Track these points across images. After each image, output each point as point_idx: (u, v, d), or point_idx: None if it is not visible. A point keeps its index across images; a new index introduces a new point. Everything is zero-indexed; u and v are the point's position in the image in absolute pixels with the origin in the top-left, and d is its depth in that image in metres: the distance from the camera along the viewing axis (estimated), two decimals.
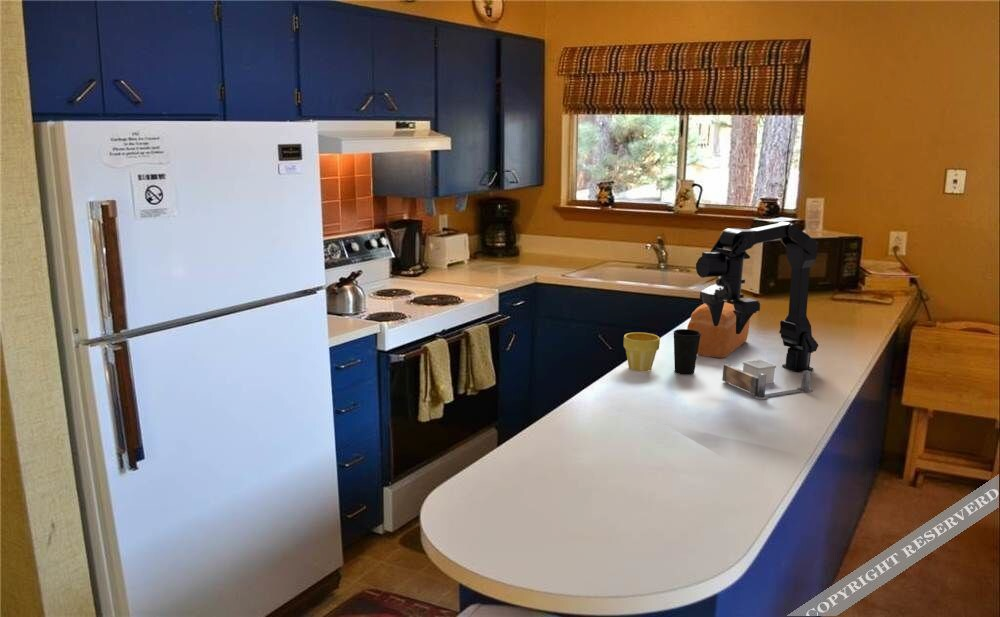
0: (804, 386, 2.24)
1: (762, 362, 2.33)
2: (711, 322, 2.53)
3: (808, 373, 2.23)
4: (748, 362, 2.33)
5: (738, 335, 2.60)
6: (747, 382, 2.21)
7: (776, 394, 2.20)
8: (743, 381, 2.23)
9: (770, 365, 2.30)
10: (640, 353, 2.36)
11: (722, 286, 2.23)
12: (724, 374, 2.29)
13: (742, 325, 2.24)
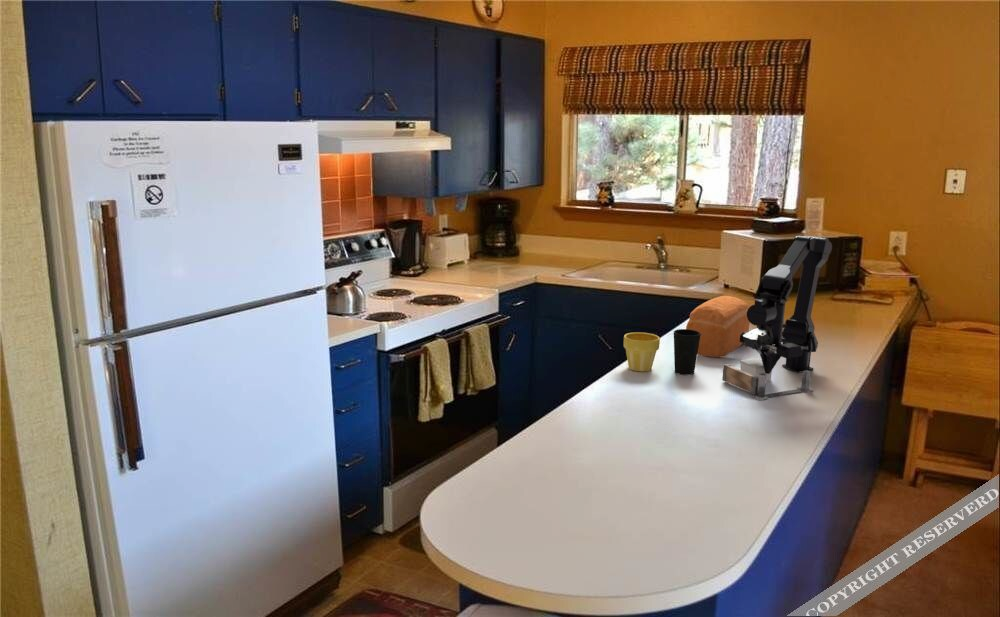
0: (804, 386, 2.24)
1: (759, 361, 2.34)
2: (709, 322, 2.53)
3: (808, 373, 2.23)
4: (745, 361, 2.33)
5: (737, 335, 2.60)
6: (747, 382, 2.21)
7: (776, 394, 2.20)
8: (743, 381, 2.23)
9: None
10: (640, 353, 2.36)
11: (764, 331, 2.23)
12: (724, 374, 2.29)
13: (772, 365, 2.28)
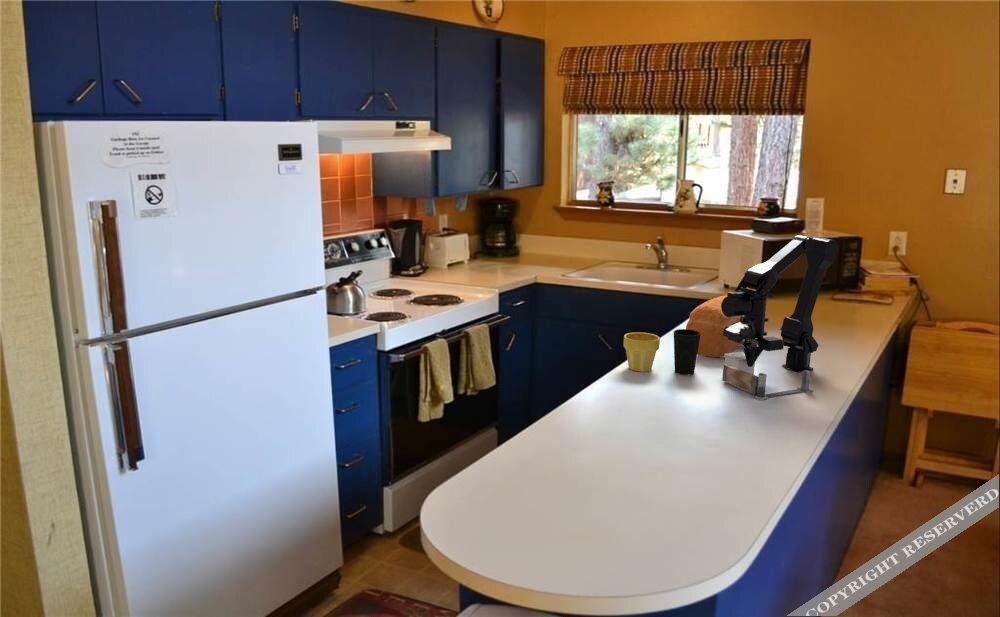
0: (804, 386, 2.24)
1: (743, 354, 2.40)
2: (709, 322, 2.53)
3: (808, 373, 2.23)
4: (729, 354, 2.40)
5: None
6: (747, 382, 2.21)
7: (776, 394, 2.20)
8: (743, 381, 2.23)
9: None
10: (640, 353, 2.36)
11: (746, 325, 2.29)
12: (724, 374, 2.29)
13: (754, 358, 2.34)
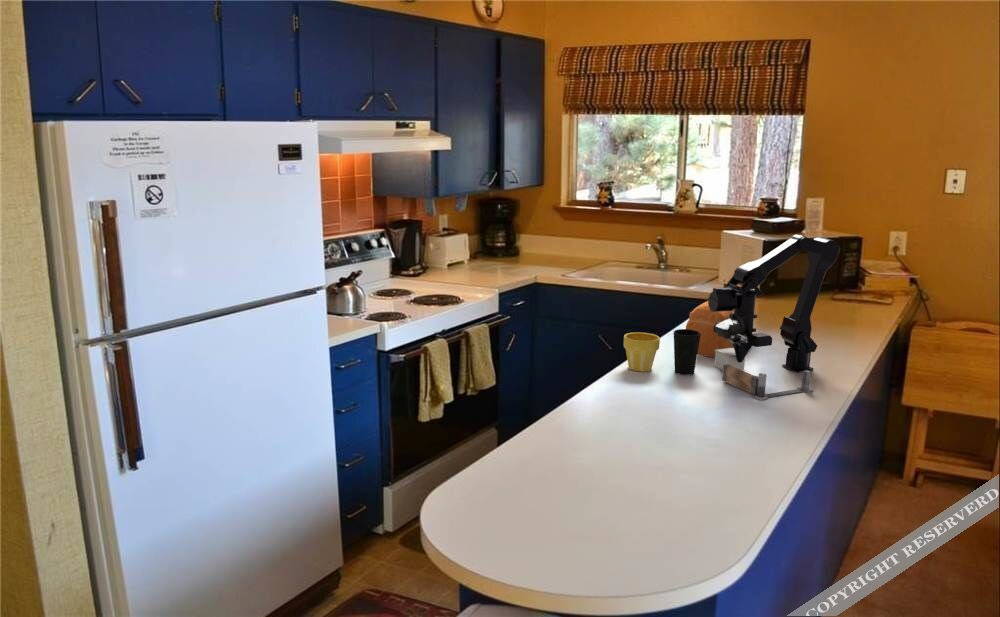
0: (804, 386, 2.24)
1: (733, 350, 2.44)
2: (709, 322, 2.53)
3: (808, 373, 2.23)
4: (720, 350, 2.44)
5: None
6: (747, 382, 2.21)
7: (776, 394, 2.20)
8: (743, 381, 2.23)
9: None
10: (640, 353, 2.36)
11: (735, 321, 2.33)
12: (724, 374, 2.29)
13: (744, 354, 2.38)
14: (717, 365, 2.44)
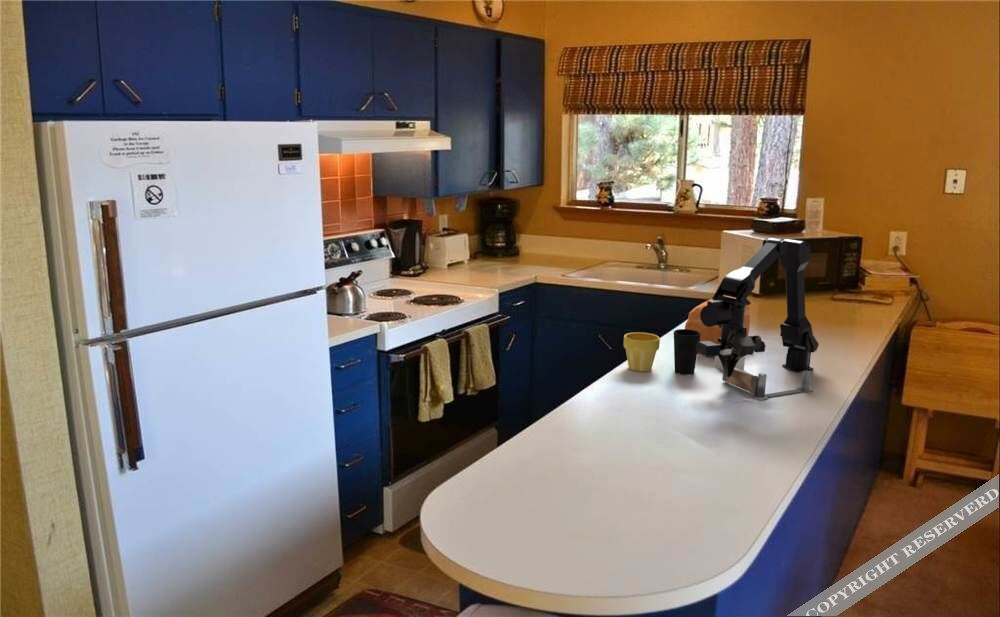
0: (804, 386, 2.24)
1: None
2: None
3: (808, 373, 2.23)
4: None
5: None
6: (747, 382, 2.21)
7: (776, 394, 2.20)
8: (743, 381, 2.23)
9: None
10: (640, 353, 2.36)
11: (743, 334, 2.20)
12: (724, 374, 2.29)
13: None
14: (717, 365, 2.44)
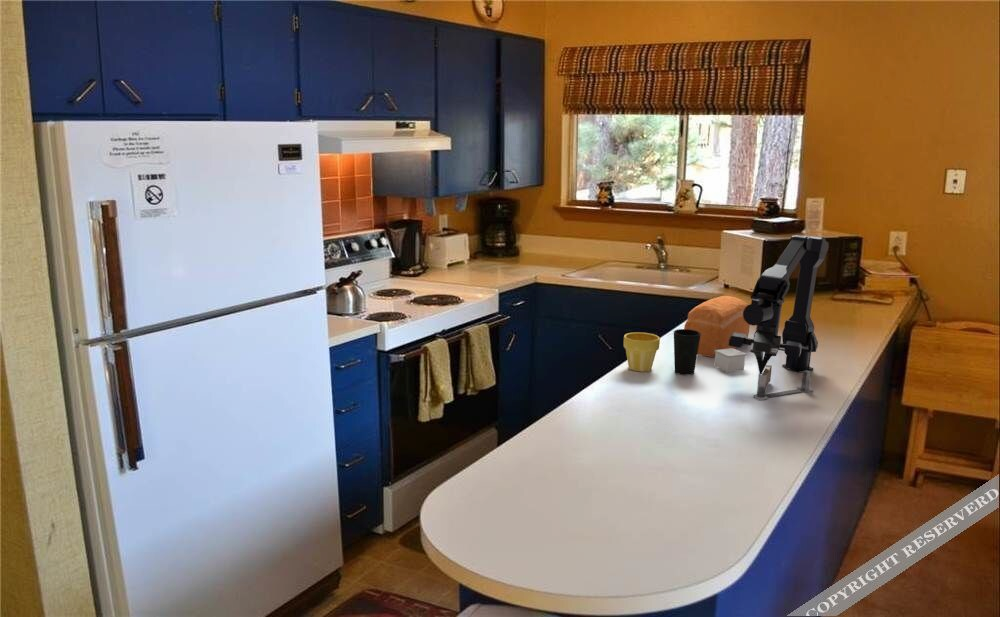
0: (804, 386, 2.24)
1: (733, 350, 2.44)
2: (707, 321, 2.53)
3: (808, 373, 2.23)
4: (720, 350, 2.44)
5: None
6: None
7: (776, 394, 2.20)
8: None
9: (740, 353, 2.41)
10: (640, 353, 2.36)
11: (769, 333, 2.20)
12: None
13: None
14: (717, 365, 2.44)
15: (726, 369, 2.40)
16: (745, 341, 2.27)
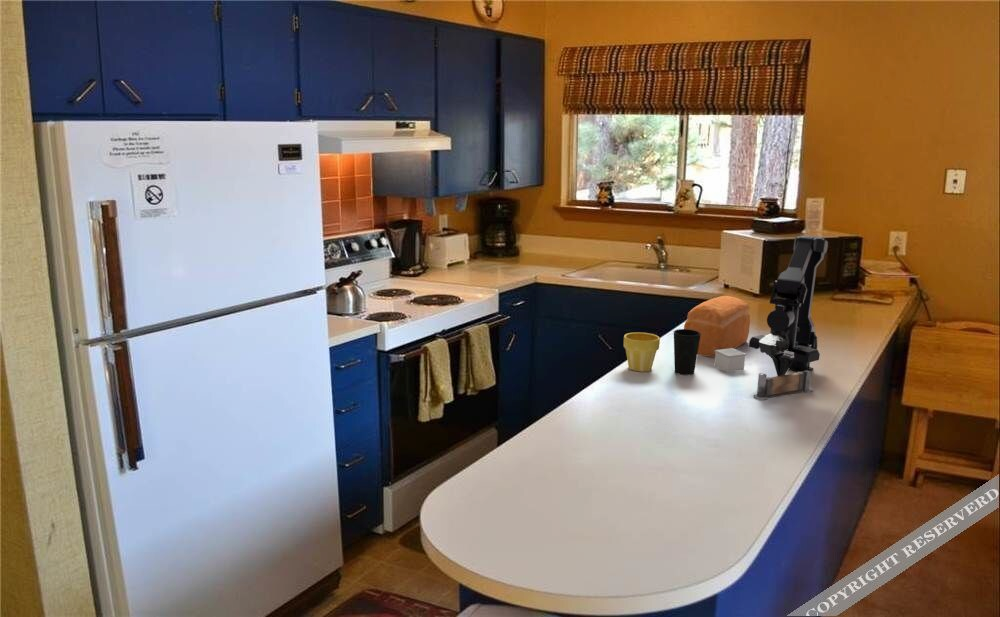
0: (804, 386, 2.24)
1: (733, 350, 2.44)
2: (706, 321, 2.53)
3: (808, 373, 2.23)
4: (720, 350, 2.44)
5: (736, 335, 2.60)
6: None
7: (776, 394, 2.20)
8: None
9: (740, 353, 2.41)
10: (640, 353, 2.36)
11: (780, 336, 2.19)
12: None
13: (786, 370, 2.24)
14: (717, 365, 2.44)
15: (726, 369, 2.40)
16: None
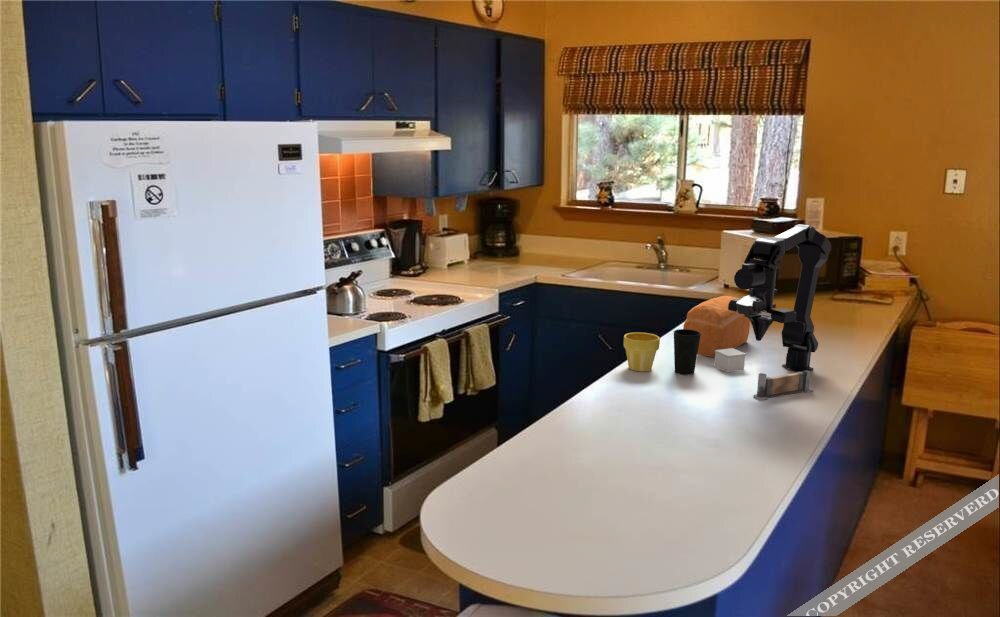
0: (804, 386, 2.24)
1: (733, 350, 2.44)
2: (706, 321, 2.53)
3: (808, 373, 2.23)
4: (720, 350, 2.44)
5: (735, 335, 2.60)
6: None
7: (776, 394, 2.20)
8: None
9: (740, 353, 2.41)
10: (640, 353, 2.36)
11: (757, 297, 2.21)
12: None
13: (763, 332, 2.26)
14: (717, 365, 2.44)
15: (726, 369, 2.40)
16: None
